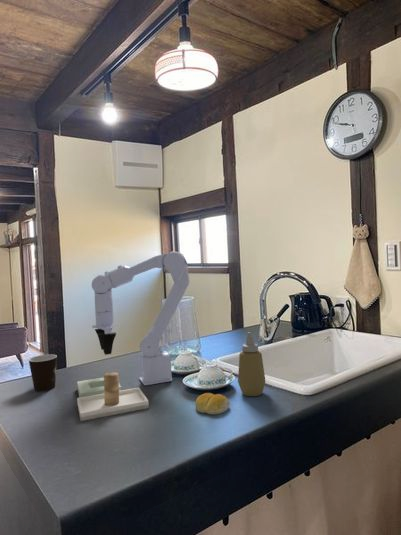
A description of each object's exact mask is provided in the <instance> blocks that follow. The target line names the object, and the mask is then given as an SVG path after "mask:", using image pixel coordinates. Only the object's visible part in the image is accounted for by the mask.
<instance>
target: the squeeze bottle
mask: <svg viewBox="0 0 401 535" xmlns="http://www.w3.org/2000/svg"><path fill="white" fill-rule="evenodd" d="M241 350H242V351H240V353H239V355H238V356H239V357H238V358H239V359H238V375H237V383H238V386H239V389H240V392H241V393H242V395H244V396H246V397H258V396H261V395H262V394H263V391H264V389H265V385H266V376H265V368H264V361H263V354H262V352H260V351H259V344H257V343H255V340H254V336H253V334H252V332H250V331H248V332H247V334H246V340H245V343H243V344H242V346H241Z"/></svg>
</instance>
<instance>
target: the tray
mask: <svg viewBox="0 0 401 535" xmlns="http://www.w3.org/2000/svg"><path fill="white" fill-rule="evenodd" d="M76 404H77V409H78V414H79V420H80V422H83V421H87V420H88V421H89V420H93V419H98V418H103V417H108V416H110V417H111V416H114V415H121V414H124V413H129V412H135V411H139V410H140V411H141V410H145V409H150V408H149V407H150V403H149V399H148V398H147V397H146V395H145V393H144V392H143V391H142V390H141V388H140V387H134V388H128V389H121V391H119V403H118V404H116V405H105V400H104V394H98V395H92V396H86V397H77V398H76Z"/></svg>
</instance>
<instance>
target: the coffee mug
mask: <svg viewBox="0 0 401 535" xmlns="http://www.w3.org/2000/svg"><path fill="white" fill-rule="evenodd" d="M57 361H58V356H57V354H41V355H36V356H32V357H30V358H29V359H28V364H29V370H30V374H31V380H32V384H33V389H34V391H35V392H38V393H40V392H42V393H43V392H47V391H51V390H53V389H55V388H56V378H57Z"/></svg>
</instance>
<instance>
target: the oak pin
mask: <svg viewBox="0 0 401 535" xmlns="http://www.w3.org/2000/svg"><path fill="white" fill-rule="evenodd" d="M103 377H104V400H105V405H116V404H118V403H119V384H120V380H119V373H118V372H106V373H103Z"/></svg>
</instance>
